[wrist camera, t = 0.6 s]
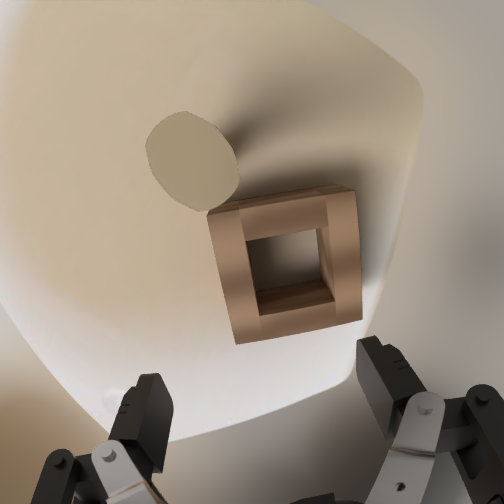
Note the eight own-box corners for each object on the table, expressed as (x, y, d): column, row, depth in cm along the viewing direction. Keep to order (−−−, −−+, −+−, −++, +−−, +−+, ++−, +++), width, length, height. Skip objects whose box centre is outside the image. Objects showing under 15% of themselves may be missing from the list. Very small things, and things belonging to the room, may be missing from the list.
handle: (212, 122, 31) (191, 97, 17) (248, 168, 33) (256, 178, 18) (176, 150, 32) (131, 147, 17) (212, 195, 33) (193, 226, 19)
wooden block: (212, 205, 34) (206, 215, 28) (336, 184, 34) (354, 190, 28) (236, 317, 38) (235, 344, 32) (346, 296, 38) (362, 319, 32)
